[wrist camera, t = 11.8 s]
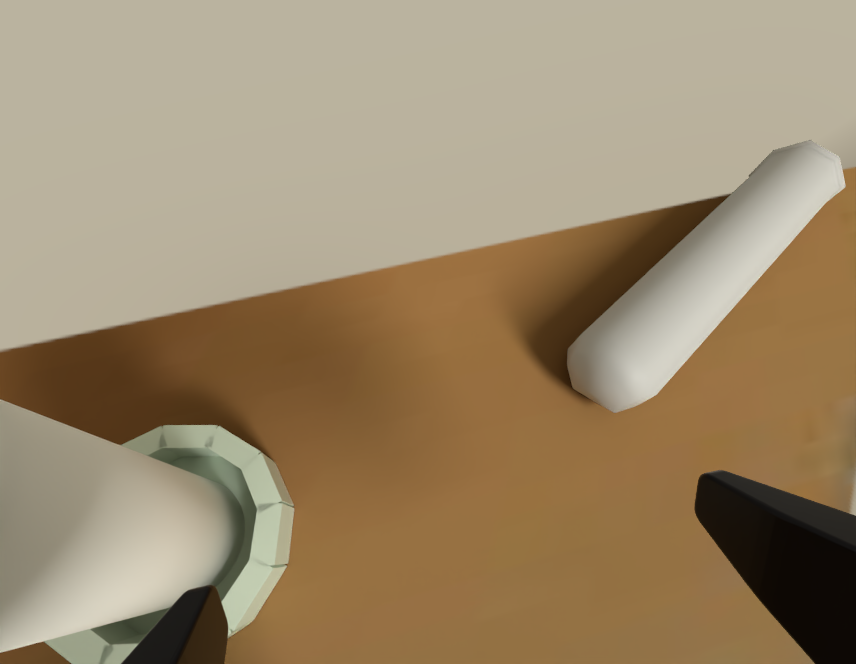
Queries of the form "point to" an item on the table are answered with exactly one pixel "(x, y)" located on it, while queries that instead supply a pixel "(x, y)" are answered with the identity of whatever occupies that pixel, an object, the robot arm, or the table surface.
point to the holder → (261, 550)
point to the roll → (99, 530)
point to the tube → (701, 279)
